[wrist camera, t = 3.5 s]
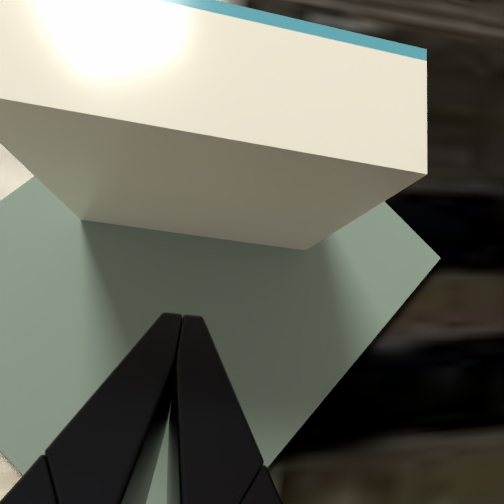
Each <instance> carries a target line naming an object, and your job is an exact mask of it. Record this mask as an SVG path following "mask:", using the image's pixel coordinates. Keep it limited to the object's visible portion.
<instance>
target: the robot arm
mask: <svg viewBox="0 0 504 504" xmlns="http://www.w3.org/2000/svg"><path fill="white" fill-rule="evenodd" d="M170 405H171V407H170ZM169 411H170V415H169ZM168 417H169V428H168V463H167V503H166V504H283V503H282V501H281V499H280V497H279V494H278V492H277V490H276V488H275V485H274V483H273V481H272V478H271V476H270V474H269V471H268V469H267V467H266V466H265V465H263V464H264V460H263V458H262V455H261V453H260V450H259V448H258V446H257V443H256V441H255V439H254V436H253V434H252V431H251V429H250V427H249V424H248V422H247V420H246V417H245V415H244V413H243V410H242V408H241V405H240V403H239V401H238V398H237V396H236V394H235V391H234V389H233V386H232V384H231V382H230V379H229V377H228V375H227V372H226V370H225V368H224V365H223V363H222V360H221V358H220V356H219V353H218V351H217V349H216V346H215V344H214V341H213V339H212V337H211V334H210V332H209V330H208V327H207V325H206V323H205V320H204V318H203V317H202V316H197V315H188V314H186V315H184V316H183V319H182V315H181V314H179V313H169V312H164V313H162V314H161V315H160V316H159V317H158V318H157V320H156V321H155V322H154V323H153V324H152V325H151V327H150V328H149V329H148V330H147V331H146V332H145V334H144V335H143V336H142V337H141V338H140V339H139V341H138V342H137V343H136V344H135V345H134V347H133V348H132V349H131V350H130V351H129V352H128V354H127V355H126V356H125V357H124V358H123V359H122V361H121V362H120V363H119V364H118V365H117V366H116V368H115V369H114V370H113V371H112V372H111V373H110V375H109V376H108V377H107V378H106V379H105V380H104V382H103V383H102V384H101V385H100V386H99V387H98V389H97V390H96V391H95V392H94V393H93V395H92V396H91V397H90V398H89V399H88V400H87V402H86V403H85V404H84V405H83V406H82V407H81V409H80V410H79V411H78V412H77V413H76V414H75V416H74V417H73V418H72V419H71V420H70V421H69V423H68V424H67V425H66V426H65V427H64V428H63V430H62V431H61V432H60V433H59V434H58V436H57V437H56V438H55V439H54V440H53V441H52V443H51V444H50V445H49V446H48V447H47V448H46V450H45V455H40V456H39V457H38V459H37V460H36V461H35V462H34V463H33V464H32V466H31V467H30V468H29V469H28V470H27V472H26V473H25V474H24V475H23V476H22V477H21V479H20V480H19V481H18V482H17V483H16V484H15V485H14V486H13V487H12V489H11V490H10V491H9V492H8V493H7V494H6V495H5V496H4V497H3V499H2V500H1V501H0V504H146V501H147V497H148V494H149V490H150V486H151V482H152V479H153V475H154V471H155V468H156V464H157V460H158V457H159V453H160V449H161V445H162V442H163V438H164V434H165V430H166V426H167V422H168Z"/></svg>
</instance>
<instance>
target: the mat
mask: <svg viewBox="0 0 504 504" xmlns="http://www.w3.org/2000/svg"><path fill="white" fill-rule="evenodd" d="M439 259H440V257H439V256H438V255H437V254H436V253H435V252H434V251H433V250H432V249H431V248H430V247H429V246H428V245H427V244H426V243H425V242H424V241H423V240H422V239H421V238H420V237H419V236H418V235H417V234H416V233H415V232H414V231H413V230H412V229H411V228H410V227H409V226H408V225H407V224H406V223H405V222H404V221H403V220H402V219H401V218H400V217H399V216H398V215H397V214H396V213H395V212H394V211H393V210H392V209H391V208H390V207H389V206H388V205H387V204H386V203H385V202H382V203H381V204H379V205H377V206H376V207H374V208H373V209H371V210H369V211H368V212H366V213H365V214H363V215H361V216H360V217H358V218H357V219H355V220H353V221H352V222H350V223H349V224H347V225H346V226H344V227H342V228H341V229H339V230H338V231H336V232H334V233H333V234H331V235H330V236H328V237H326V238H325V239H323V240H322V241H320V242H318V243H317V244H315V245H314V246H312V247H310V248H309V249H307V250H306V251H305V250H298V249H291V248H284V247H276V246H269V245H262V244H254V243H247V242H240V241H232V240H225V239H218V238H210V237H203V236H196V235H188V234H181V233H174V232H166V231H159V230H152V229H145V228H137V227H130V226H123V225H115V224H108V223H101V222H93V221H86V220H80V219H79V218H78V217H77V216H76V215H75V214H74V213H73V212H72V211H71V210H70V209H69V208H68V207H67V206H66V205H65V204H64V203H63V202H62V201H61V200H59V199H58V198H57V197H56V196H55V195H54V194H53V193H52V192H51V191H50V190H49V189H48V188H47V187H46V186H45V185H44V184H43V183H42V182H41V181H40V180H39V179H38V178H36V177H35V176H34V177H33V178H31V179H30V180H29V181H27V182H26V183H25V184H23V185H22V186H21V187H19V188H18V189H16V190H15V191H14V192H12V193H11V194H10V195H8V196H7V197H5V198H4V199H3V200H1V201H0V452H1V453H2V454H3V455H4V456H5V457H6V458H7V459H8V460H9V461H10V462H11V463H12V464H13V465H14V466H15V467H16V468H17V469H18V471H19V472H20V473H21V474H22V475H24V474H25V473H26V472H27V470H28V469H29V468H30V467H31V466H32V464H33V463H34V462H35V461H36V460H37V459H38V457H39V456H40V455H45V450H46V448H47V447H48V446H49V445H50V444H51V443H52V441H53V440H54V439H55V438H56V437H57V436H58V434H59V433H60V432H61V431H62V430H63V428H64V427H65V426H66V425H67V424H68V423H69V421H70V420H71V419H72V418H73V417H74V416H75V414H76V413H77V412H78V411H79V410H80V409H81V407H82V406H83V405H84V404H85V403H86V402H87V400H88V399H89V398H90V397H91V396H92V395H93V393H94V392H95V391H96V390H97V389H98V387H99V386H100V385H101V384H102V383H103V382H104V380H105V379H106V378H107V377H108V376H109V375H110V373H111V372H112V371H113V370H114V369H115V368H116V366H117V365H118V364H119V363H120V362H121V361H122V359H123V358H124V357H125V356H126V355H127V354H128V352H129V351H130V350H131V349H132V348H133V347H134V345H135V344H136V343H137V342H138V341H139V339H140V338H141V337H142V336H143V335H144V334H145V332H146V331H147V330H148V329H149V328H150V327H151V325H152V324H153V323H154V322H155V321H156V320H157V318H158V317H159V316H160V315H161V314H162V313H164V312H169V313H179V314H181V315H182V319H183V316H184V315H186V314H188V315H197V316H202V317H203V318H204V320H205V323H206V325H207V327H208V330H209V332H210V334H211V337H212V339H213V341H214V344H215V346H216V349H217V351H218V353H219V356H220V358H221V360H222V363H223V365H224V368H225V370H226V372H227V375H228V377H229V379H230V382H231V384H232V386H233V389H234V391H235V394H236V396H237V398H238V401H239V403H240V405H241V408H242V410H243V413H244V415H245V417H246V420H247V422H248V424H249V427H250V429H251V431H252V434H253V436H254V439H255V441H256V443H257V446H258V448H259V450H260V453H261V455H262V458H263V460H264V464H263V465H265V466H266V467H268V466H269V465H270V464H271V463H272V461H273V460H274V459H275V458H276V457H277V455H278V454H279V453H280V452H281V451H282V449H283V448H284V447H285V446H286V445H287V443H288V442H289V441H290V440H291V438H292V437H293V436H294V435H295V434H296V432H297V431H298V430H299V429H300V428H301V426H302V425H303V424H304V423H305V422H306V420H307V419H308V418H309V417H310V415H311V414H312V413H313V412H314V411H315V409H316V408H317V407H318V406H319V405H320V403H321V402H322V401H323V400H324V399H325V397H326V396H327V395H328V394H329V393H330V391H331V390H332V389H333V388H334V386H335V385H336V384H337V383H338V382H339V380H340V379H341V378H342V377H343V376H344V374H345V373H346V372H347V371H348V370H349V368H350V367H351V366H352V365H353V363H354V362H355V361H356V360H357V359H358V357H359V356H360V355H361V354H362V353H363V351H364V350H365V349H366V348H367V347H368V345H369V344H370V343H371V342H372V341H373V339H374V338H375V337H376V336H377V334H378V333H379V332H380V331H381V330H382V328H383V327H384V326H385V325H386V324H387V322H388V321H389V320H390V319H391V318H392V316H393V315H394V314H395V313H396V311H397V310H398V309H399V308H400V307H401V305H402V304H403V303H404V302H405V301H406V299H407V298H408V297H409V296H410V295H411V293H412V292H413V291H414V290H415V289H416V287H417V286H418V285H419V284H420V282H421V281H422V280H423V279H424V278H425V276H426V275H427V274H428V273H429V272H430V270H431V269H432V268H433V267H434V266H435V264H436V263H437V262H438V261H439ZM170 407H171V405H170ZM169 415H170V411H169ZM168 428H169V417H168V422H167V426H166V430H165V434H164V438H163V442H162V445H161V449H160V453H159V457H158V460H157V464H156V468H155V471H154V475H153V479H152V482H151V486H150V490H149V494H148V497H147V501H146V504H166V503H167V463H168Z"/></svg>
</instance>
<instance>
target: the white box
mask: <svg viewBox="0 0 504 504" xmlns="http://www.w3.org/2000/svg"><path fill="white" fill-rule="evenodd" d="M0 143H1V144H2V145H3V146H4V147H5V148H6V149H7V150H8V151H9V152H10V153H11V154H12V155H13V156H15V157H16V158H17V159H18V160H19V161H20V162H21V163H22V164H23V165H24V166H25V167H26V168H27V169H28V170H29V171H30V172H31V173H32V174H33V175H34V176H35V177H36V178H38V179H39V180H40V181H41V182H42V183H43V184H44V185H45V186H46V187H47V188H48V189H49V190H50V191H51V192H52V193H53V194H54V195H55V196H56V197H57V198H58V199H59V200H61V201H62V202H63V203H64V204H65V205H66V206H67V207H68V208H69V209H70V210H71V211H72V212H73V213H74V214H75V215H76V216H77V217H78V218H79V219H80V220H86V221H93V222H101V223H108V224H115V225H123V226H130V227H137V228H145V229H152V230H159V231H166V232H174V233H181V234H188V235H196V236H203V237H210V238H218V239H225V240H232V241H240V242H247V243H254V244H262V245H269V246H276V247H284V248H291V249H298V250H305V251H306V250H307V249H309V248H310V247H312V246H314V245H315V244H317V243H318V242H320V241H322V240H323V239H325V238H326V237H328V236H330V235H331V234H333V233H334V232H336V231H338V230H339V229H341V228H342V227H344V226H346V225H347V224H349V223H350V222H352V221H353V220H355V219H357V218H358V217H360V216H361V215H363V214H365V213H366V212H368V211H369V210H371V209H373V208H374V207H376V206H377V205H379V204H381V203H382V202H384V201H385V200H387V199H388V198H390V197H392V196H393V195H395V194H396V193H398V192H400V191H401V190H403V189H404V188H406V187H408V186H409V185H411V184H412V183H414V182H416V181H417V180H419V179H420V178H422V177H424V176H425V175H427V49H423V48H418V47H414V46H410V45H405V44H401V43H397V42H393V41H388V40H384V39H380V38H375V37H371V36H367V35H362V34H358V33H354V32H350V31H345V30H341V29H337V28H332V27H328V26H324V25H319V24H315V23H311V22H307V21H302V20H298V19H294V18H289V17H285V16H281V15H276V14H272V13H268V12H264V11H259V10H255V9H251V8H246V7H242V6H238V5H233V4H229V3H225V2H221V1H216V0H0Z"/></svg>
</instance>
